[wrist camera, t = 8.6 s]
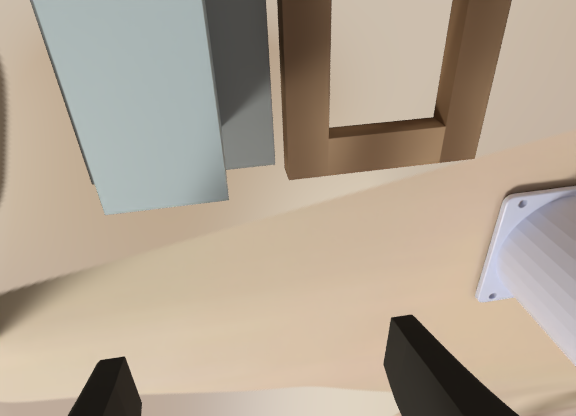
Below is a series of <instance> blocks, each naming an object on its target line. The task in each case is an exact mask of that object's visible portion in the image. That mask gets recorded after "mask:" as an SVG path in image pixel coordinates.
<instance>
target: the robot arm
mask: <svg viewBox="0 0 576 416" xmlns="http://www.w3.org/2000/svg"><path fill="white" fill-rule="evenodd" d="M521 201H522V202H521ZM475 297H476V298H477V300H478V301H479V302H489V301H495V300H501V299H507V298H513V297H515V298H516V299H517V301H518V302H519V303H520V304H521V305H522V306H523V307H524V308H525V310H526V311H527V312H528V313H529V314H530V315H531V316H532V318H533V319H534V320H535V321H536V322H537V323H538V324H539V326H540V327H541V328H542V329H543V330H544V331H545V332H546V333H547V335H548V336H549V337H550V338H551V339H552V340H553V341H554V343H555V344H556V345H557V346H558V347H559V348H560V349H561V351H562V352H563V353H564V354H565V355H566V356H567V357H568V358H569V360H570V361H571V362H572V363H573V364H574V365H575V366H576V186H570V187H563V188H555V189H547V190H539V191H531V192H524V193H516V194H511V195H508V196H507V197H506V198H505V199H504V200H503V202H502V205H501V209H500V212H499V216H498V219H497V222H496V226H495V229H494V233H493V236H492V239H491V243H490V246H489V250H488V253H487V256H486V260H485V263H484V267H483V270H482V273H481V277H480V280H479V284H478V287H477V290H476V294H475ZM384 367H385V371H386V374H387V377H388V380H389V383H390V387H391V389H392V392H393V395H394V398H395V401H396V403H397V406H398V408H399V410H400V413H401V415H402V416H519V415H518V414H517V413H515V412H514V411H513V410H512V409H511V408H509V407H508V406H507V405H506V404H505V403H504V402H502V401H501V400H500V399H499V398H498V397H497V396H495V395H494V394H493V393H492V392H491V391H490V390H489V389H488V388H487V387H485V386H484V385H483V384H482V383H481V382H480V381H479V380H478V379H477V378H476V377H475V376H474V375H473V374H471V373H470V372H469V371H468V370H467V369H466V368H465V367H464V366H463V365H462V364H461V363H460V362H459V361H458V360H457V359H456V358H455V357H454V356H453V355H452V354H451V353H450V352H449V351H448V350H447V349H446V348H445V347H444V346H443V345H442V344H441V343H440V342H439V341H438V340H437V339H436V338H435V337H434V336H433V335H432V334H431V333H430V332H429V331H428V330H427V329H426V328H425V327H424V326H423V325H422V324H421V323H420V322H419V321H418V320H417V319H416V318H415V317H414V316H413V315H405V316H399V317H392V318H391V322H390V328H389V334H388V340H387V346H386V352H385V358H384ZM141 409H142V402H141V399H140V397H139V394H138V391H137V388H136V386H135V383H134V380H133V377H132V375H131V372H130V369H129V366H128V364H127V361H126V358H125V357H118V358H111V359H105V360H100V361H99V362H98V363H97V365H96V366H95V368H94V370H93V372H92V374H91V376H90V377H89V379H88V381H87V383H86V385H85V387H84V388H83V390H82V392H81V394H80V395H79V397H78V399H77V401H76V402H75V404H74V406H73V407H72V409H71V411H70V413H69V414H68V416H141Z"/></svg>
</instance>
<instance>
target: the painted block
mask: <svg viewBox="0 0 576 416" xmlns="http://www.w3.org/2000/svg"><path fill="white" fill-rule="evenodd" d="M33 2H34V5H35V8H36V11H37V14H38V17H39V20H40V23H41V26H42V29H43V32H44V35H45V38H46V41H47V44H48V47H49V50H50V53H51V56H52V59H53V62H54V65H55V68H56V71H57V74H58V77H59V80H60V83H61V86H62V88H63V91H64V94H65V97H66V100H67V103H68V106H69V109H70V112H71V115H72V118H73V121H74V124H75V127H76V130H77V133H78V136H79V139H80V142H81V145H82V148H83V151H84V154H85V157H86V160H87V163H88V166H89V169H90V172H91V175H92V178H93V181H94V184H95V187H96V190H97V193H98V195H99V199H100V201H101V204H102V207H103V210H104V213H105V215H110V214H118V213H127V212H135V211H143V210H151V209H160V208H168V207H176V206H185V205H193V204H201V203H210V202H218V201H226V200H229V196H228V186H227V176H226V166H225V156H224V146H223V136H222V127H221V119H220V111H219V104H218V96H217V89H216V81H215V73H214V66H213V58H212V51H211V43H210V35H209V28H208V20H207V13H206V5H205V0H33Z"/></svg>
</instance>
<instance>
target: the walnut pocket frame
mask: <svg viewBox="0 0 576 416" xmlns="http://www.w3.org/2000/svg"><path fill="white" fill-rule="evenodd" d="M511 1H512V0H453V2H452V7H451V14H450V20H449V26H448V32H447V38H446V45H445V50H444V56H443V62H442V69H441V74H440V81H439V87H438V93H437V99H436V105H435V111H434V117H433V118H422V119H412V120H402V121H393V122H383V123H372V124H362V125H353V126H344V127H333V128H329V98H330V97H329V96H330V49H331V0H277V3H278V27H279V50H280V71H281V72H280V73H281V94H282V118H283V141H284V163H285V170H286V173H287V176H288V179H289V180H294V179H302V178H311V177H320V176H328V175H337V174H346V173H355V172H363V171H372V170H380V169H390V168H398V167H406V166H415V165H424V164H432V163H442V162H450V161H459V160H468V159H475V155H476V151H477V146H478V142H479V138H480V134H481V129H482V125H483V121H484V116H485V112H486V108H487V104H488V99H489V95H490V91H491V87H492V82H493V78H494V74H495V69H496V65H497V61H498V57H499V52H500V48H501V44H502V39H503V35H504V31H505V27H506V23H507V18H508V14H509V10H510V6H511Z"/></svg>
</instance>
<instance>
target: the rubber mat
mask: <svg viewBox="0 0 576 416" xmlns="http://www.w3.org/2000/svg"><path fill="white" fill-rule="evenodd" d="M30 2H31V4H32V8H33V10H34V13H35V16H36V19H37V22H38V25H39V28H40V31H41V34H42V37H43V40H44V43H45V46H46V49H47V52H48V55H49V58H50V61H51V64H52V67H53V70H54V73H55V76H56V79H57V81H58V85H59V87H60V90H61V93H62V96H63V99H64V102H65V105H66V108H67V111H68V114H69V117H70V120H71V123H72V126H73V129H74V132H75V135H76V138H77V141H78V144H79V147H80V150H81V153H82V156H83V158H84V162H85V164H86V167H87V170H88V173H89V176H90V179H91V182H92V184H94V181H93V178H92V175H91V172H90V169H89V166H88V163H87V160H86V157H85V154H84V151H83V148H82V145H81V142H80V139H79V136H78V133H77V130H76V127H75V124H74V121H73V118H72V115H71V112H70V109H69V106H68V103H67V100H66V97H65V94H64V91H63V88H62V86H61V83H60V80H59V77H58V74H57V71H56V68H55V65H54V62H53V59H52V56H51V53H50V50H49V47H48V44H47V41H46V38H45V35H44V32H43V29H42V26H41V23H40V20H39V17H38V14H37V11H36V8H35V5H34V2H33V0H30ZM205 5H206V13H207V20H208V28H209V35H210V43H211V51H212V58H213V66H214V73H215V81H216V89H217V96H218V104H219V111H220V119H221V127H222V136H223V146H224V156H225V166H226V170H229V169H238V168H247V167H256V166H266V165H275V152H274V134H273V117H272V99H271V82H270V66H269V48H268V30H267V13H266V0H205Z"/></svg>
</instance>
